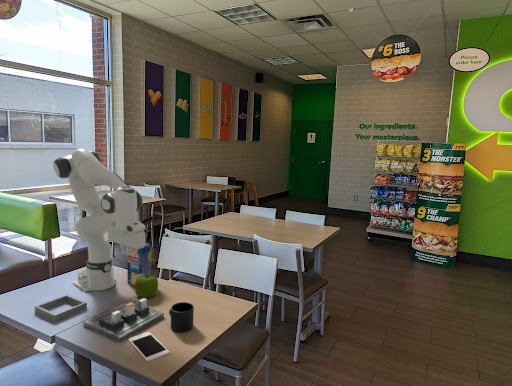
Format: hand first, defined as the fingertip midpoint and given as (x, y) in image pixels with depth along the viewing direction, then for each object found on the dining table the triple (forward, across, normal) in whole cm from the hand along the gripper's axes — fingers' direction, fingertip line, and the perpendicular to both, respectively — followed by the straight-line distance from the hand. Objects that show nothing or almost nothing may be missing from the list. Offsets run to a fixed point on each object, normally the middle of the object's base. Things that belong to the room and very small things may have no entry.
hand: (125, 254), depth 156 cm
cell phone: (+28, +28, -14) cm, 42 cm away
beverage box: (+28, -20, +27) cm, 44 cm away
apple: (+28, -6, +18) cm, 34 cm away
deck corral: (+28, -24, -15) cm, 40 cm away
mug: (+27, +28, +4) cm, 40 cm away
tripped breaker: (+23, +10, -6) cm, 26 cm away
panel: (+27, +6, -6) cm, 29 cm away
